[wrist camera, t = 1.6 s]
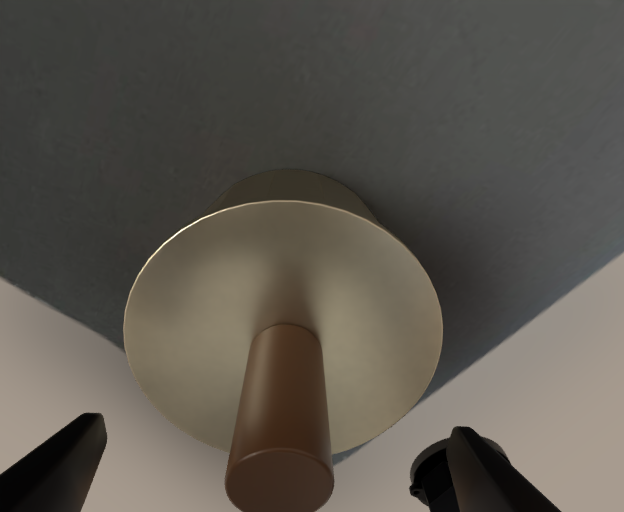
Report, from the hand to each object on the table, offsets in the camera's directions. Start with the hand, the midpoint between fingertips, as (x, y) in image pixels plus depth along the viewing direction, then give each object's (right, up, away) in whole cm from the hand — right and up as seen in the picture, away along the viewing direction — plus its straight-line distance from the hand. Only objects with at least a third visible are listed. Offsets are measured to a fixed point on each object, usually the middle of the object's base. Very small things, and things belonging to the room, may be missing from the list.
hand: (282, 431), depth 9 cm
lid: (0, +1, +3) cm, 3 cm away
